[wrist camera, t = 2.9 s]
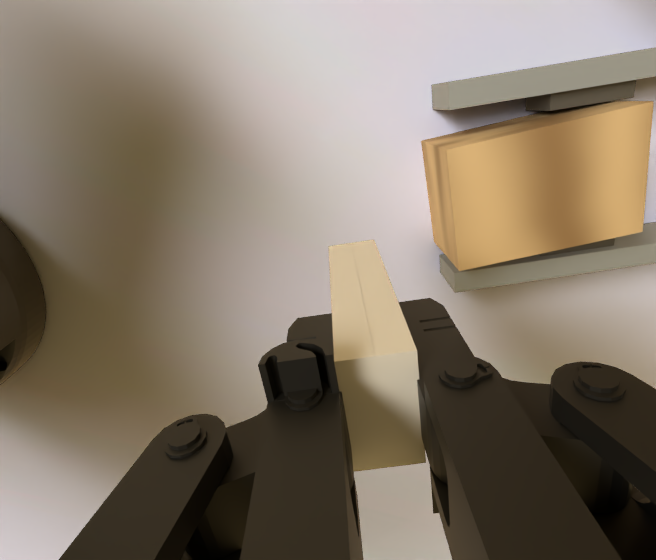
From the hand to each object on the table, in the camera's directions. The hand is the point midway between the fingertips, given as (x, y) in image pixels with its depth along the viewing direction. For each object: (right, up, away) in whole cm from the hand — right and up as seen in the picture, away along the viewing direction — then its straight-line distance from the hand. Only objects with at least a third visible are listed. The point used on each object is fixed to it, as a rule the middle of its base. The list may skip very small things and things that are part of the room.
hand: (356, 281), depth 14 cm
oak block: (+9, +6, +10) cm, 15 cm away
